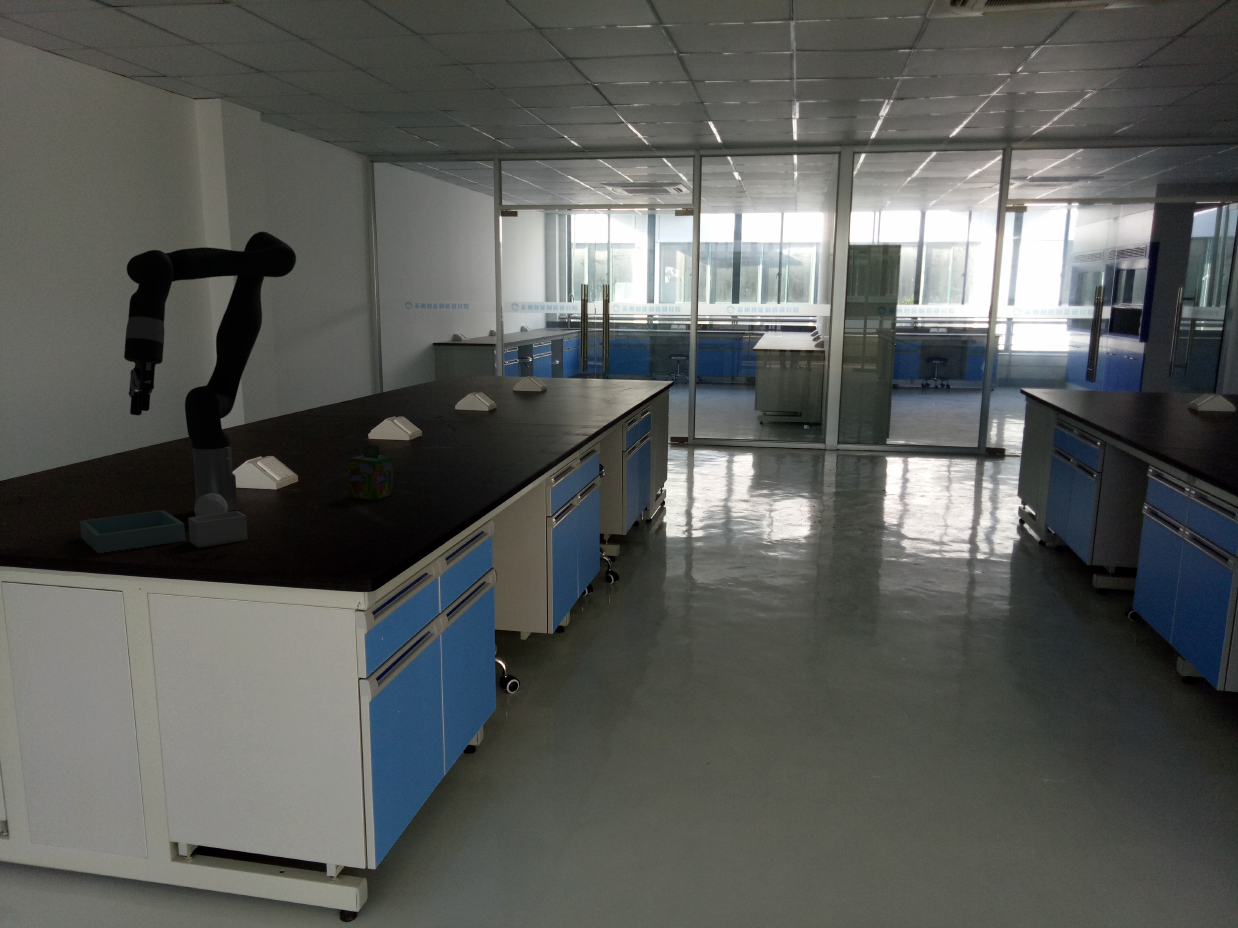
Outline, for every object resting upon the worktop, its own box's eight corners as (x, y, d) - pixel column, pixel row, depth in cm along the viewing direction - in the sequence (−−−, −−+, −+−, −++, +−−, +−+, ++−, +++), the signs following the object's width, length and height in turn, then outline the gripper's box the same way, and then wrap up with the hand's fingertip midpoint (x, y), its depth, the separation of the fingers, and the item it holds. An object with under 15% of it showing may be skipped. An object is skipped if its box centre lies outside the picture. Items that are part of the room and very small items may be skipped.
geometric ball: (203, 533, 223) (185, 507, 223) (233, 518, 228) (215, 492, 228) (206, 525, 217) (188, 498, 217) (236, 509, 222) (218, 483, 222)
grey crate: (238, 535, 213) (237, 510, 212) (247, 540, 209) (246, 515, 208) (190, 542, 206) (188, 517, 205) (198, 548, 202) (196, 522, 201)
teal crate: (164, 527, 220) (163, 509, 219) (185, 542, 207) (184, 523, 207) (81, 539, 208) (79, 520, 207) (98, 555, 196) (96, 535, 195)
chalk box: (348, 498, 253) (346, 447, 250) (367, 492, 261) (365, 442, 259) (375, 501, 250) (373, 449, 247) (394, 494, 258) (392, 444, 256)
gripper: (170, 337, 193) (165, 411, 192) (156, 348, 204) (151, 418, 203) (131, 331, 189) (125, 407, 187) (120, 343, 200) (114, 414, 198)
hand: (139, 412), depth 195 cm, fingers open, 8 cm apart
